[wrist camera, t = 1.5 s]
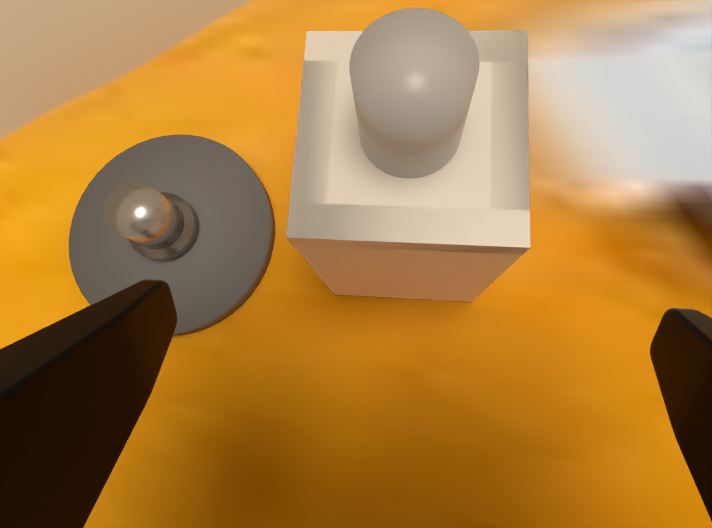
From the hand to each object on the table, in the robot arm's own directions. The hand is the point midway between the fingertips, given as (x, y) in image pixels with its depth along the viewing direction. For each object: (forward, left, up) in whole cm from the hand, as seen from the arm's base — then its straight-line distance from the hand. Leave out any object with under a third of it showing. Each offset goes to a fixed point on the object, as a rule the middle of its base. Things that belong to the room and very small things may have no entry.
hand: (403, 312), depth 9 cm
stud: (-5, +11, -12) cm, 18 cm away
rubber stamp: (+4, +4, -13) cm, 14 cm away
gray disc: (-5, +11, -13) cm, 18 cm away
